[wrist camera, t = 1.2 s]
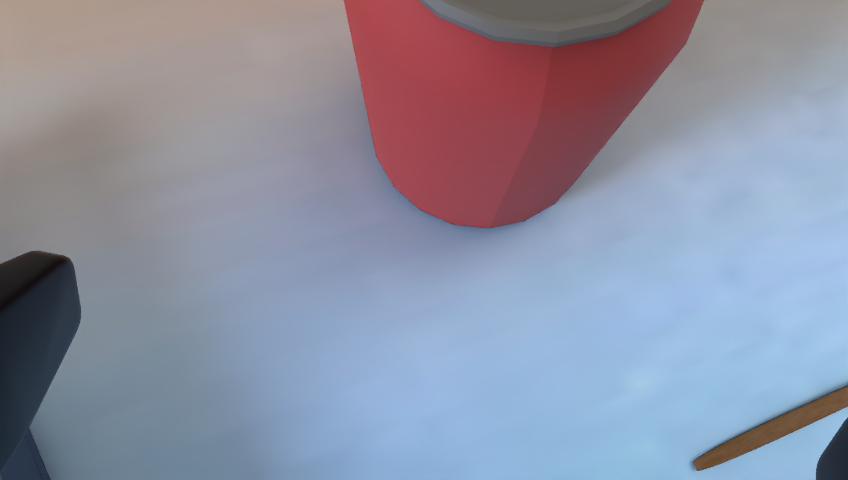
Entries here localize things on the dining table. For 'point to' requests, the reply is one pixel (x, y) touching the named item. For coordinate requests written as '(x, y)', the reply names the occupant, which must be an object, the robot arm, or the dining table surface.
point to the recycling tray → (25, 462)
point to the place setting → (774, 429)
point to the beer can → (504, 93)
